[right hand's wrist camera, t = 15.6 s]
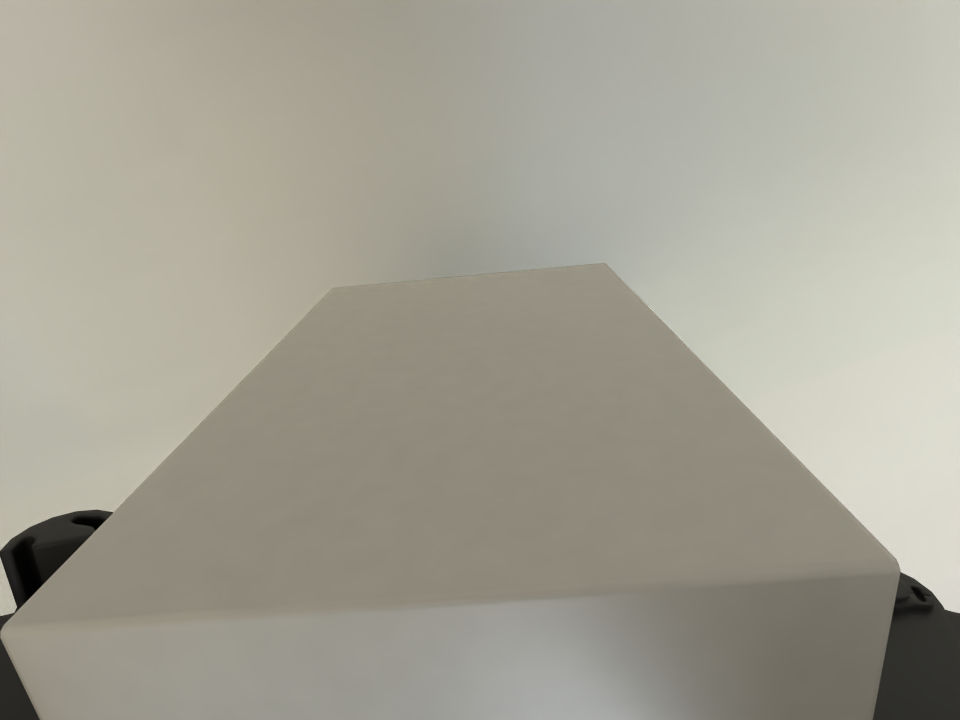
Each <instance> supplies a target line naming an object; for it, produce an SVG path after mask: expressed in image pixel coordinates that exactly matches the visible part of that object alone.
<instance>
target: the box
mask: <svg viewBox="0 0 960 720" xmlns="http://www.w3.org/2000/svg"><path fill="white" fill-rule="evenodd" d="M899 577H900V568H899V564H898V562H897V560H896V558H895V557H894V556H893V555H892V554H891V553H890V552H889V551H888V550H887V549H886V548H885V547H884V546H883V545H882V544H881V543H880V542H879V541H878V540H877V539H876V538H875V537H874V536H873V535H872V534H871V533H870V532H869V531H868V530H867V529H866V528H865V527H864V526H863V525H862V524H861V523H860V522H859V521H858V520H857V519H856V518H855V517H854V516H853V515H852V514H851V513H850V512H849V511H848V510H847V508H846V507H845V506H844V505H843V504H842V503H841V502H840V501H839V500H838V499H837V498H836V497H835V496H834V495H833V494H832V493H831V492H830V491H829V490H828V489H827V488H826V487H825V486H824V485H823V484H822V483H821V482H820V481H819V480H818V479H817V478H816V477H815V476H814V475H813V474H812V473H811V472H810V471H809V470H808V469H807V468H806V467H805V466H804V465H803V464H802V463H801V462H800V461H799V460H798V459H797V458H796V457H795V456H794V455H793V454H792V453H791V452H790V451H789V450H788V449H787V447H786V446H785V445H784V444H783V443H782V442H781V441H780V440H779V439H778V438H777V437H776V436H775V435H774V434H773V433H772V432H771V431H770V430H769V429H768V428H767V427H766V426H765V425H764V424H763V423H762V422H761V421H760V420H759V419H758V418H757V417H756V416H755V415H754V414H753V413H752V412H751V411H750V410H749V409H748V408H747V407H746V406H745V405H744V404H743V403H742V402H741V401H740V400H739V399H738V398H737V397H736V396H735V395H734V394H733V393H732V392H731V391H730V390H729V389H728V388H727V386H726V385H725V384H724V383H723V382H722V381H721V380H720V379H719V378H718V377H717V376H716V375H715V374H714V373H713V372H712V371H711V370H710V369H709V368H708V367H707V366H706V365H705V364H704V363H703V362H702V361H701V360H700V359H699V358H698V357H697V356H696V355H695V354H694V353H693V352H692V351H691V350H690V349H689V348H688V347H687V346H686V345H685V344H684V343H683V342H682V341H681V340H680V339H679V338H678V337H677V336H676V335H675V334H674V333H673V332H672V331H671V330H670V329H669V328H668V327H667V325H666V324H665V323H664V322H663V321H662V320H661V319H660V318H659V317H658V316H657V315H656V314H655V313H654V312H653V311H652V310H651V309H650V308H649V307H648V306H647V305H646V304H645V303H644V302H643V301H642V300H641V299H640V298H639V297H638V296H637V295H636V294H635V293H634V292H633V291H632V290H631V289H630V288H629V287H628V286H627V285H626V284H625V283H624V282H623V281H622V280H621V279H620V278H619V277H618V276H617V275H616V274H615V273H614V272H613V271H612V270H611V269H610V268H609V267H608V265H607V264H605V263H599V264H588V265H577V266H567V267H556V268H545V269H534V270H523V271H512V272H502V273H491V274H480V275H469V276H458V277H447V278H436V279H426V280H415V281H404V282H393V283H382V284H371V285H361V286H350V287H339V288H333V289H331V290H330V291H329V292H328V293H327V295H326V296H325V297H324V298H323V299H322V300H321V301H320V302H319V303H318V304H317V305H316V306H315V307H314V308H313V309H312V310H311V311H310V312H309V313H308V314H307V315H306V316H305V317H304V318H303V319H302V320H301V321H300V322H299V323H298V324H297V325H296V326H295V327H294V328H293V329H292V330H291V331H290V332H289V333H288V334H287V335H286V336H285V338H284V339H283V340H282V341H281V342H280V343H279V344H278V345H277V346H276V347H275V348H274V349H273V350H272V351H271V352H270V353H269V354H268V355H267V356H266V357H265V358H264V359H263V360H262V361H261V362H260V363H259V364H258V365H257V366H256V367H255V368H254V369H253V370H252V371H251V372H250V373H249V374H248V375H247V376H246V377H245V378H244V380H243V381H242V382H241V383H240V384H239V385H238V386H237V387H236V388H235V389H234V390H233V391H232V392H231V393H230V394H229V395H228V396H227V397H226V398H225V399H224V400H223V401H222V402H221V403H220V404H219V405H218V406H217V407H216V408H215V409H214V410H213V411H212V412H211V413H210V414H209V415H208V416H207V417H206V418H205V419H204V420H203V421H202V423H201V424H200V425H199V426H198V427H197V428H196V429H195V430H194V431H193V432H192V433H191V434H190V435H189V436H188V437H187V438H186V439H185V440H184V441H183V442H182V443H181V444H180V445H179V446H178V447H177V448H176V449H175V450H174V451H173V452H172V453H171V454H170V455H169V456H168V457H167V458H166V459H165V460H164V461H163V462H162V463H161V465H160V466H159V467H158V468H157V469H156V470H155V471H154V472H153V473H152V474H151V475H150V476H149V477H148V478H147V479H146V480H145V481H144V482H143V483H142V484H141V485H140V486H139V487H138V488H137V489H136V490H135V491H134V492H133V493H132V494H131V495H130V496H129V497H128V498H127V499H126V500H125V501H124V502H123V503H122V504H121V505H120V506H119V508H118V509H117V510H116V511H115V512H114V513H113V514H112V515H111V516H110V517H109V518H108V519H107V520H106V521H105V522H104V523H103V524H102V525H101V526H100V527H99V528H98V529H97V530H96V531H95V532H94V533H93V534H92V535H91V536H90V537H89V538H88V539H87V540H86V541H85V542H84V543H83V544H82V545H81V546H80V547H79V548H78V550H77V551H76V552H75V553H74V554H73V555H72V556H71V557H70V558H69V559H68V560H67V561H66V562H65V563H64V564H63V565H62V566H61V567H60V568H59V569H58V570H57V571H56V572H55V573H54V574H53V575H52V576H51V577H50V578H49V579H48V580H47V581H46V582H45V583H44V584H43V585H42V586H41V587H40V588H39V589H38V590H37V591H36V593H35V594H34V595H33V596H32V597H31V598H30V599H29V600H28V601H27V602H26V603H25V604H24V605H23V606H22V607H21V608H20V609H19V610H18V611H17V612H16V613H15V614H14V615H13V616H12V617H11V618H10V619H9V620H8V621H7V622H6V623H5V624H4V625H3V627H2V629H1V631H0V638H1V640H2V642H3V645H4V647H5V649H6V651H7V653H8V655H9V657H10V659H11V661H12V663H13V665H14V667H15V669H16V671H17V673H18V675H19V678H20V680H21V682H22V684H23V686H24V688H25V690H26V692H27V694H28V696H29V698H30V700H31V702H32V704H33V706H34V709H35V711H36V713H37V715H38V717H39V719H40V720H873V715H874V710H875V705H876V699H877V694H878V689H879V683H880V678H881V673H882V667H883V662H884V657H885V652H886V646H887V641H888V636H889V630H890V625H891V620H892V614H893V609H894V604H895V598H896V593H897V588H898V582H899Z"/></svg>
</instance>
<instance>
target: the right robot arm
mask: <svg viewBox="0 0 960 720" xmlns="http://www.w3.org/2000/svg"><path fill="white" fill-rule="evenodd" d="M112 514H113V512H108V511H102V510H88V511H76V512H72V513H68V514H64V515H61V516H57V517H53V518H50V519H48V520H46V521H43V522H41V523H39V524H36V525H34V526H32V527H30V528H28V529H26V530H25V531H23V532H22V533H20V534H19V535H17V536H15V537H14V538H12V539H11V540H10V541H9V542H8V543H7V544H6V545H5V546H4V548H3V549H2V550H1V551H0V557H1V560H2V563H3V566H4V569H5V572H6V575H7V578H8V581H9V584H10V587H11V590H12V593H13V596H14V599H15V602H16V605H17V609H16V611H15V613H16V612H17V611H18V610H19V609H20V608H21V607H22V606H23V605H24V604H25V603H26V602H27V601H28V600H29V599H30V598H31V597H32V596H33V595H34V594H35V593H36V591H37V590H38V589H39V588H40V587H41V586H42V585H43V584H44V583H45V582H46V581H47V580H48V579H49V578H50V577H51V576H52V575H53V574H54V573H55V572H56V571H57V570H58V569H59V568H60V567H61V566H62V565H63V564H64V563H65V562H66V561H67V560H68V559H69V558H70V557H71V556H72V555H73V554H74V553H75V552H76V551H77V550H78V548H79V547H80V546H81V545H82V544H83V543H84V542H85V541H86V540H87V539H88V538H89V537H90V536H91V535H92V534H93V533H94V532H95V531H96V530H97V529H98V528H99V527H100V526H101V525H102V524H103V523H104V522H105V521H106V520H107V519H108V518H109V517H110V516H111V515H112ZM15 613H12V614H8V615H4V616H0V631H1V629H2V627H3V625H4V624H5V623H6V622H7V621H8V620H9V619H10V618H11V617H12V616H13V615H14V614H15ZM0 720H40V719H39V717H38V715H37V713H36V711H35V709H34V706H33V704H32V702H31V700H30V698H29V696H28V694H27V692H26V690H25V688H24V686H23V684H22V682H21V680H20V678H19V675H18V673H17V671H16V669H15V667H14V665H13V663H12V661H11V659H10V657H9V655H8V653H7V651H6V649H5V647H4V645H3V642H2V640H1V638H0ZM873 720H960V613H955V612H951V611H948V610H945V609H944V607H943V606H942V604H941V603H940V602H939V601H938V599H937V598H936V597H935V595H934V594H933V593H932V592H931V591H930V590H928V589H927V588H926V587H924V586H923V585H922V584H920V583H919V582H918V581H916V580H915V579H914V578H912V577H909V576H907V575H905V574H903V573H901V572H900V577H899V582H898V588H897V593H896V598H895V604H894V609H893V614H892V620H891V625H890V630H889V636H888V641H887V646H886V652H885V657H884V662H883V667H882V673H881V678H880V683H879V689H878V694H877V699H876V705H875V710H874V715H873Z"/></svg>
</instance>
